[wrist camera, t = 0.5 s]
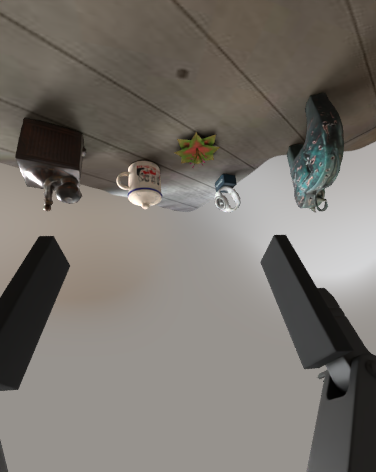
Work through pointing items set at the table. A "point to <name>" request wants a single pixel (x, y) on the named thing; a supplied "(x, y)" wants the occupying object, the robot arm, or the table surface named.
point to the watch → (226, 185)
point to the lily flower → (197, 149)
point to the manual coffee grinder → (51, 160)
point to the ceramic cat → (317, 153)
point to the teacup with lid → (143, 184)
